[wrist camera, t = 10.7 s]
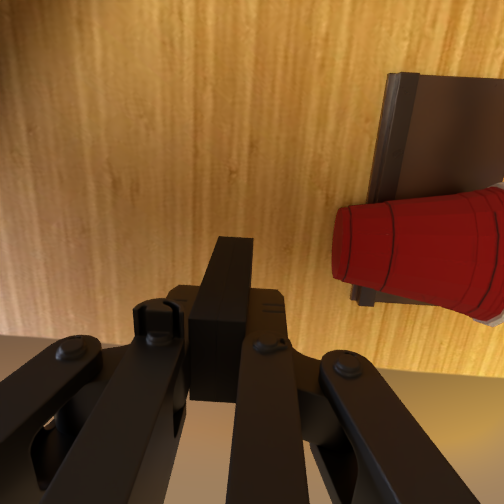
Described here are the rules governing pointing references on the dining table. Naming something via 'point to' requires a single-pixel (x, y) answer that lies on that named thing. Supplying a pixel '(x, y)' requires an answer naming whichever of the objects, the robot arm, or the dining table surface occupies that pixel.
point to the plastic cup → (428, 250)
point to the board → (434, 145)
